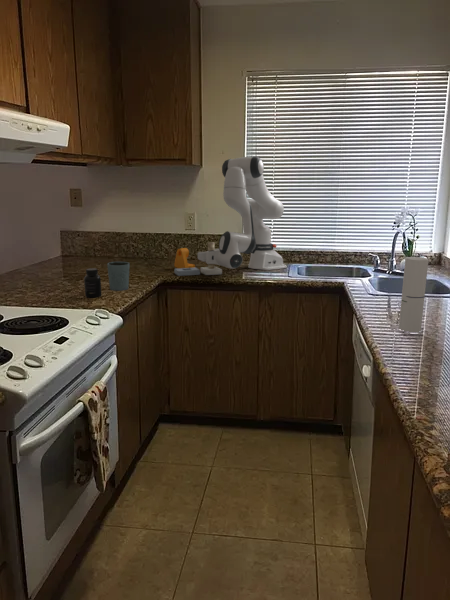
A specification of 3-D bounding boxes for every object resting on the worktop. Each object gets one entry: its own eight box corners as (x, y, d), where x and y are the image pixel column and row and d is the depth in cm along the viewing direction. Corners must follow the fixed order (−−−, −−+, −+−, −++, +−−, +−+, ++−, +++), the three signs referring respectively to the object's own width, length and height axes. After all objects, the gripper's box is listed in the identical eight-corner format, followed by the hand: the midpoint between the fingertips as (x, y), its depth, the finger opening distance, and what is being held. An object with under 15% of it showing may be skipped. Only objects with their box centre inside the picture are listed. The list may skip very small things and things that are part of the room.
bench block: (195, 271, 272) (195, 267, 271) (200, 274, 265) (200, 269, 264) (174, 273, 268) (174, 268, 267) (178, 275, 261) (178, 271, 260)
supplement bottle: (88, 294, 217) (86, 267, 214) (103, 294, 217) (102, 267, 214) (83, 298, 211) (81, 270, 208) (99, 298, 210) (97, 270, 208)
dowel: (213, 267, 270) (213, 241, 267) (215, 268, 267) (215, 242, 264) (206, 267, 269) (206, 242, 266) (209, 268, 266) (209, 242, 263)
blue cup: (118, 285, 236) (117, 260, 233) (135, 287, 231) (134, 262, 228) (103, 289, 227) (102, 263, 224) (121, 292, 223) (120, 265, 220)
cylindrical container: (415, 335, 163) (423, 261, 157) (395, 331, 168) (401, 258, 162) (423, 331, 168) (431, 258, 162) (403, 327, 173) (410, 256, 167)
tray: (216, 271, 275) (216, 266, 274) (221, 274, 266) (222, 269, 266) (200, 272, 272) (200, 267, 271) (205, 275, 263) (205, 270, 263)
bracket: (195, 269, 279) (195, 248, 276) (185, 271, 275) (184, 249, 272) (184, 267, 287) (184, 246, 284) (174, 268, 283) (174, 247, 280)
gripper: (239, 249, 259) (227, 246, 271) (204, 251, 250) (193, 248, 262) (239, 261, 260) (227, 257, 272) (204, 264, 251) (193, 260, 263)
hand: (210, 253), depth 267 cm, fingers closed on dowel, 4 cm apart
